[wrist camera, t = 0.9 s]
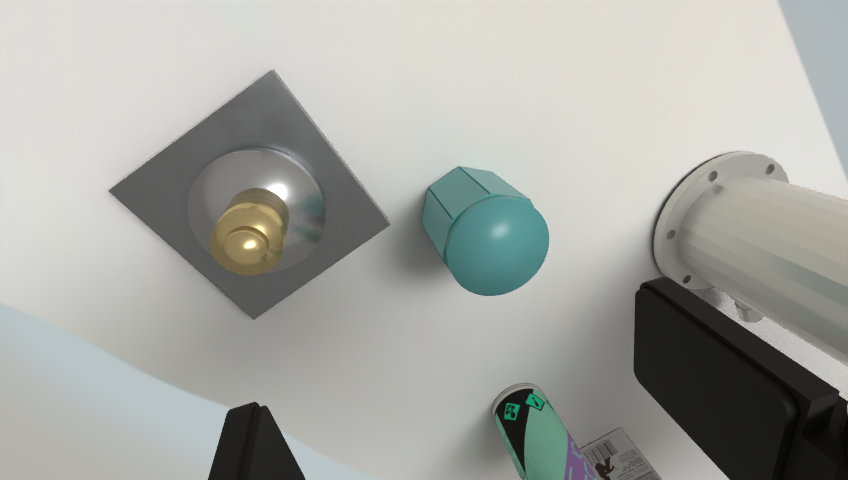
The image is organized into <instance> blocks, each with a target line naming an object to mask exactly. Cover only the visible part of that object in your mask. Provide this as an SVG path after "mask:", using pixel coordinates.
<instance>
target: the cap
mask: <svg viewBox="0 0 848 480" xmlns="http://www.w3.org/2000/svg"><path fill="white" fill-rule="evenodd" d="M429 188H430V189H428V191H427V195H426V200H425V204H424V209H423V213H422V218H421V223H422V225H423V227H424V228H425V230H426V232H427V234H428V235H429V237H430V239H431V241H432V243H433V244H434V246H435V248H436V250H437V251H438V253H439V255H440V257H441V259H442V260H443V262H444V263H445V264H446V266H447V267H448V268H449V270H450V271H451V273H452V274H453V276H454V278H455V279H456V281H457V282H458V283H459V284H460V285H461V286H462V287H463V288H465V289H467V290H468V291H470V292H472V293H475V294H479V295H484V296H495V295H501V294H505V293H508V292H511V291H513V290H515V289H517V288H519V287H521V286H522V285H524V284H525V283H526V282H528V281H529V280H530V279H531V278H532V277H533V276H534V275H535V274H536V273H537V271H538V270H539V268H540V267H541V265H542V263H543V262H544V259H545V257H546V254H547V251H548V246H549V232H548V228H547V224H546V222H545V220H544V218H543V217H542V215H541V214H540V213H539V212H538V211H537V210H536V209H535V208H534V206H533V204H532V202H531V201H530V199H528V198H527V197H526V196H524V195H523V194H522V193H520V192H519V191H517V190H516V189H515V188H513V187H512V186H511V185H509V184H508V183H506V182H505V181H504V180H502V179H501V178H500V177H498V176H497V175H495V174H494V173H493V172H490V171H484V170H478V169H472V168H466V167H457V168H455V169H454V170H453V171H451V172H450V173H448V174H447V175H445V176H444V177H443V178H441V179H440V180H438V181H437V182H435V183H434V184H432V185H431V186H430V187H429Z"/></svg>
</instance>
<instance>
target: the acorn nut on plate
mask: <svg viewBox="0 0 848 480" xmlns="http://www.w3.org/2000/svg"><path fill="white" fill-rule="evenodd" d="M109 192H110V193H111V194H113V195H114V196H115V197H116V198H117V199H118V200H119V201H120V202H122V203H123V204H124V205H125V206H126V207H127V208H128V209H129V210H131V211H132V212H133V213H134V214H135V215H136V216H137V217H138V218H140V219H141V220H142V221H143V222H144V223H145V224H146V225H147V226H149V227H150V228H151V229H152V230H153V231H154V232H155V233H156V234H158V235H159V236H160V237H161V238H162V239H163V240H164V241H165V242H167V243H168V244H169V245H170V246H171V247H172V248H173V249H175V250H176V251H177V252H178V253H179V254H180V255H181V256H182V257H184V258H185V259H186V260H187V261H188V262H189V263H190V264H191V265H193V266H194V267H195V268H196V269H197V270H198V271H199V272H200V273H202V274H203V275H204V276H205V277H206V278H207V279H208V280H209V281H211V282H212V283H213V284H214V285H215V286H216V287H217V288H218V289H220V290H221V291H222V292H223V293H224V294H225V295H226V296H227V297H229V298H230V299H231V300H232V301H233V302H234V303H235V304H236V305H238V306H239V307H240V308H241V309H242V310H243V311H244V312H246V313H247V314H248V315H249V316H250V317H251V318H252V319H253V320H254V319H256V318H257V317H259V316H260V315H261V314H263V313H264V312H266V311H267V310H269V309H270V308H271V307H273V306H274V305H276V304H277V303H279V302H280V301H282V300H283V299H284V298H286V297H287V296H289V295H290V294H292V293H293V292H294V291H296V290H297V289H299V288H300V287H302V286H303V285H305V284H306V283H307V282H309V281H310V280H312V279H313V278H315V277H316V276H317V275H319V274H320V273H322V272H323V271H325V270H326V269H328V268H329V267H330V266H332V265H333V264H335V263H336V262H338V261H339V260H340V259H342V258H343V257H345V256H346V255H348V254H349V253H351V252H352V251H353V250H355V249H356V248H358V247H359V246H361V245H362V244H363V243H365V242H366V241H368V240H369V239H371V238H372V237H374V236H375V235H376V234H378V233H379V232H381V231H382V230H384V229H385V228H386V227H388V226H389V225H390V223H389V220H388V218H387V217H386V215H385V214H384V213H383V212H382V210H381V209H380V208H379V206H378V205H377V204H376V202H375V201H374V200H373V198H372V197H371V196H370V195H369V193H368V192H367V191H366V189H365V188H364V187H363V185H362V184H361V183H360V181H359V180H358V179H357V178H356V176H355V175H354V174H353V172H352V171H351V170H350V168H349V167H348V166H347V164H346V163H345V162H344V161H343V159H342V158H341V157H340V155H339V154H338V153H337V151H336V150H335V149H334V148H333V146H332V145H331V144H330V142H329V141H328V140H327V138H326V137H325V136H324V134H323V133H322V132H321V131H320V129H319V128H318V127H317V125H316V124H315V123H314V121H313V120H312V119H311V117H310V116H309V115H308V114H307V112H306V111H305V110H304V108H303V107H302V106H301V104H300V103H299V102H298V100H297V99H296V98H295V97H294V95H293V94H292V93H291V91H290V90H289V89H288V87H287V86H286V85H285V83H284V82H283V81H282V80H281V78H280V77H279V76H278V74H277V73H276V72H275V70H271V71H270V72H268V73H267V74H266V75H264V76H263V77H262V78H260V79H259V80H258V81H256V82H255V83H254V84H252V85H251V86H250V87H248V88H247V89H245V90H244V91H243V92H241V93H240V94H239V95H237V96H236V97H235V98H233V99H232V100H231V101H229V102H228V103H227V104H225V105H224V106H222V107H221V108H220V109H218V110H217V111H216V112H214V113H213V114H212V115H210V116H209V117H208V118H206V119H205V120H204V121H202V122H201V123H199V124H198V125H197V126H195V127H194V128H193V129H191V130H190V131H189V132H187V133H186V134H185V135H183V136H182V137H181V138H179V139H178V140H176V141H175V142H174V143H172V144H171V145H170V146H168V147H167V148H166V149H164V150H163V151H162V152H160V153H159V154H158V155H156V156H155V157H153V158H152V159H151V160H149V161H148V162H147V163H145V164H144V165H143V166H141V167H140V168H139V169H137V170H136V171H135V172H133V173H132V174H130V175H129V176H128V177H126V178H125V179H124V180H122V181H121V182H120V183H118V184H117V185H116V186H114V187H113V188H112V189H110V190H109Z"/></svg>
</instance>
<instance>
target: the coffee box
mask: <svg viewBox="0 0 848 480" xmlns="http://www.w3.org/2000/svg"><path fill="white" fill-rule="evenodd" d="M579 450H580V452H581V453H582V455H583V456H584V458H585V459H586V461H587V463H588V464H589V466H590V467H591V469H592V470H593V472H594V474H595V475H596V477H597V478H598V480H662V479H661V478H660V477H659V475H658V474H657V473H656V471H655V470H654V469H653V468H652V466H651V465H650V464H649V462H648V461H647V460H646V459H645V457H644V456H643V455H642V453H641V452H640V451H639V450H638V448H637V447H636V446H635V445H634V443H633V442H632V441H631V440H630V438H629V437H628V436H627V435H626V433H625V432H624V431H623V429H622V428H618V429H617V430H615V431H613V432H611V433H609V434H607V435H605V436H603V437H602V438H600V439H598V440H596V441H594V442H592V443H590V444H588V445H587V446H585V447H583V448H581V449H579Z"/></svg>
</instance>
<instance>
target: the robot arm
mask: <svg viewBox="0 0 848 480" xmlns="http://www.w3.org/2000/svg"><path fill="white" fill-rule="evenodd" d="M654 255H655V259H656V263H657V265H658V266H659V268H660V270H661V272H662V273H663V274H664V275H665V276H666V277H660V278H657V279H654V280H651V281H647V282H644V283H642V284H641V286H640V290H638V291H637V292H636V295H635V332H634V373H635V376H636V378H637V380H638V381H639V383H640V384H641V385H642V386H643V387H644V388H645V389H646V390H647V391H648V393H649V394H650V395H651V396H652V397H653V398H654V399H655V400H656V401H657V402H658V403H659V404H660V405H661V406H662V408H663V409H664V410H665V411H666V412H667V413H668V414H669V415H670V416H671V417H672V418H673V419H674V420H675V421H676V423H677V424H678V425H679V426H680V427H681V428H682V429H683V430H684V431H685V432H686V433H687V434H688V435H689V436H690V438H691V439H692V440H693V441H694V442H695V443H696V444H697V445H698V446H699V447H700V448H701V449H702V450H703V452H704V453H705V454H706V455H707V456H708V457H709V458H710V459H711V460H712V461H713V462H714V463H715V464H716V465H717V467H718V468H719V469H720V470H721V471H722V472H723V473H724V474H725V475H726V476H727V477H728V478H729V479H730V480H848V401H846V400H845V399H843V398H842V397H841V396H839V392H840V391H838V390H837V389H835V388H834V387H832V386H831V385H829V384H828V383H826V382H825V381H823V380H822V379H820V378H819V377H817V376H816V375H814V374H813V373H811V372H810V371H808V370H807V369H805V368H804V367H802V366H801V365H799V364H798V363H796V362H795V361H793V360H792V359H790V358H789V357H787V356H786V355H784V354H783V353H781V352H780V351H778V350H777V349H775V348H774V347H773V346H771V345H770V344H768V343H767V342H765V341H764V340H762V339H761V338H759V337H758V336H756V335H755V334H753V333H752V332H750V331H749V330H747V329H746V328H744V327H743V326H741V325H740V324H738V323H737V322H735V321H734V320H732V319H731V318H729V317H728V316H726V315H725V314H723V313H722V312H720V311H719V310H717V309H716V308H714V307H713V306H711V305H710V304H708V303H707V302H705V301H704V300H702V299H701V298H699V297H698V296H696V295H695V294H693V293H692V292H690V291H689V290H687V289H686V288H688V289H696V290H699V289H709V288H713V287H717V288H719V289H720V290H722V291H724V292H725V293H727V294H728V295H729V296H730V297H731V298H732V299H733V300H735V306H736V309H737V313H738V316H739V318H740V319H742V320H743V321H745V322H750V323H751V322H758V321H760V320H762V318H763V317H764V316H765V317H767V318H768V319H770V320H772V321H773V322H775V323H777V324H778V325H780V326H782V327H783V328H785V329H787V330H788V331H790V332H792V333H793V334H795V335H797V336H798V337H800V338H801V339H803V340H805V341H806V342H808V343H810V344H811V345H813V346H815V347H816V348H818V349H820V350H821V351H823V352H825V353H826V354H828V355H830V356H831V357H833V358H835V359H836V360H838V361H840V362H841V363H843V364H845V365H846V366H848V200H845V199H842V198H838V197H835V196H831V195H828V194H824V193H821V192H817V191H814V190H810V189H807V188H803V187H800V186H796V185H793V184H789V181H788V177H787V174H786V172H785V171H784V169H783V168H782V166H781V165H780V164H779V163H778V162H776V161H775V160H774V159H772V158H770V157H768V156H765V155H762V154H758V153H753V152H733V153H729V154H724V155H722V156H719V157H717V158H715V159H712V160H710V161H709V162H707V163H705V164H704V165H702V166H701V167H699V168H698V169H696V170H695V171H694V172H693V173H692V174H690V175H689V176H688V177H687V178H686V179H685V180H684V181H683V182H682V183H681V184H680V185H679V186H678V188H677V189H676V190H675V191H674V193H673V194H672V195H671V197H670V198H669V200H668V201H667V203H666V205H665V207H664V209H663V211H662V213H661V215H660V217H659V220H658V223H657V226H656V229H655V236H654ZM684 287H685V288H684ZM208 480H305V477H304V475H303V473H302V471H301V469H300V468H299V466H298V464H297V462H296V460H295V458H294V456H293V454H292V452H291V450H290V449H289V447H288V445H287V443H286V441H285V439H284V437H283V435H282V433H281V431H280V430H279V428H278V426H277V424H276V422H275V420H274V418H273V416H272V414H271V412H270V411H269V409H268V407H267V406H262V407H260V406H259V404H258V403H256V402H253V403H249V404H246V405H243V406H240V407H236V408H233V409H230V410H229V411H228V413H227V416H226V419H225V423H224V426H223V429H222V433H221V436H220V439H219V443H218V446H217V450H216V453H215V457H214V460H213V464H212V468H211V471H210V474H209V478H208Z"/></svg>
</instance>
